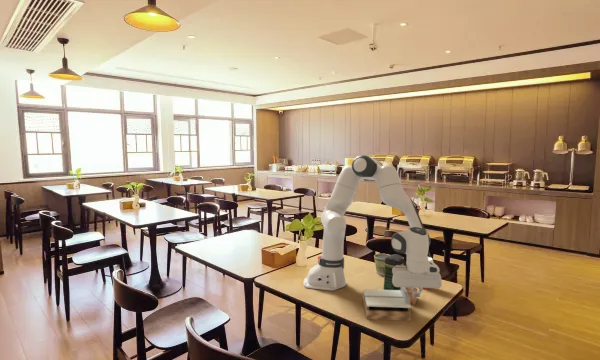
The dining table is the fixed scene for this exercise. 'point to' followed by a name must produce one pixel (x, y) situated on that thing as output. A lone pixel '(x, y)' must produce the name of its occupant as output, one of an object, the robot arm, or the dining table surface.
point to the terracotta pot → (412, 299)
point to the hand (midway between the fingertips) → (415, 296)
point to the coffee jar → (389, 264)
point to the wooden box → (386, 312)
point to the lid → (387, 298)
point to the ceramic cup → (380, 263)
